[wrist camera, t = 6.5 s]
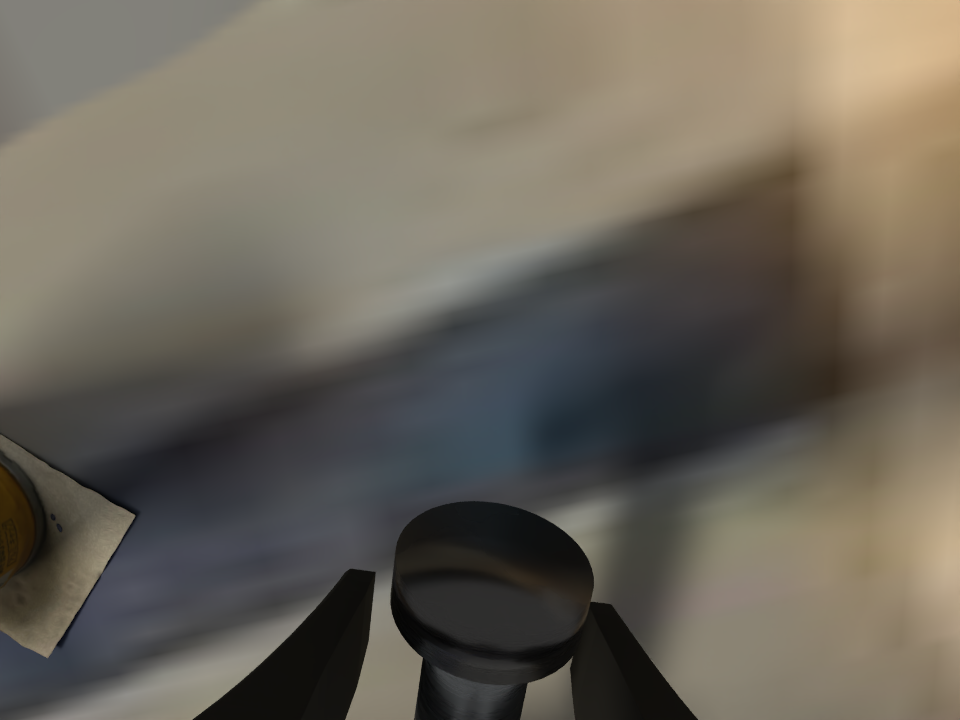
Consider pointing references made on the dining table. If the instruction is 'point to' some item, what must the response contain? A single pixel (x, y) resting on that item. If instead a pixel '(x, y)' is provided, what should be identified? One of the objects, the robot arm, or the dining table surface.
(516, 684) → the shaft
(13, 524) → the condiment
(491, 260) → the dining table surface
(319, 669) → the robot arm
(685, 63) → the dining table surface
